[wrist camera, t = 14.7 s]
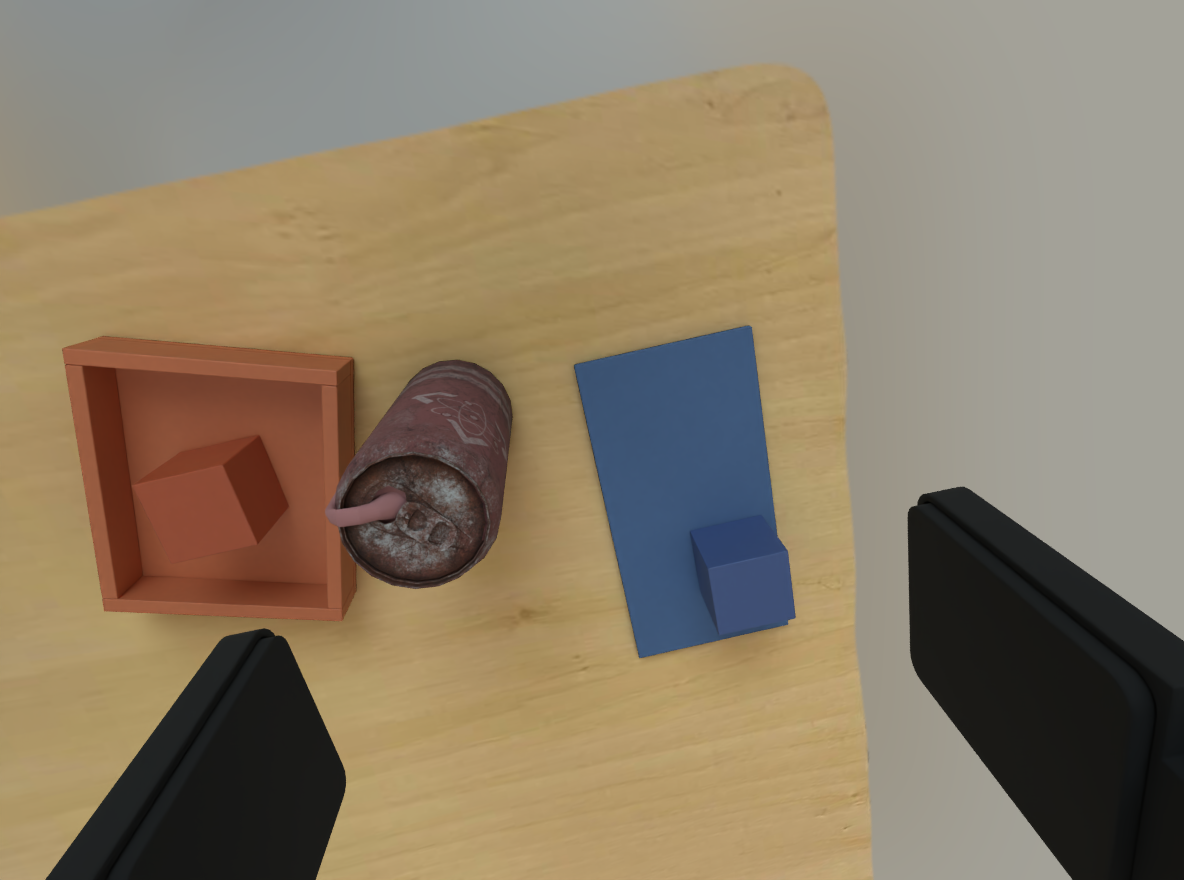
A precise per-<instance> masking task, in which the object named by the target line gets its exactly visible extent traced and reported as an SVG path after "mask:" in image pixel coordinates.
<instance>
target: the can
mask: <svg viewBox="0 0 1184 880" xmlns="http://www.w3.org/2000/svg"><path fill="white" fill-rule="evenodd" d="M511 426H512V409H511V401H510V399H509V396H508V394H507V392H506V390H505V388H504V386H503V385H502V383H501V382H500V381H499V380H498V379H497V378H496V377H495V376H494V375H493V374H492V373H491V372H489V371H488V370H486V369H484V368H482V367H480V366H479V365H477V364H475V363H470V362H465V361H461V360H449V361H439V362H437V363H435V364H432V365H430V366H428V367H425V368H423V369H422V370H421V371H420V372H419V373H418V374H416V375H415V376H414V377H413V378H412V379H411V380H410V381H409V383H408V384H407V385H406V387H405V388H404V389H403V391H402V392H401V393H400V395H399V396H398V398H397V399H396V400H395V402H394V403H393V404H392V406H391V407H390V409H389V410H388V411H387V413H386V414H385V415H384V417H383V418H382V419H381V421H380V422H379V424H378V425H377V426H376V428H375V429H374V430H373V432H372V433H371V435H370V436H369V437H368V439H367V440H366V441H365V443H364V444H363V445H362V447H361V448H360V450H359V451H358V452H357V454H356V455H355V456H354V458H353V459H352V460H351V462H350V463H349V465H348V466H347V468H346V470H345V472H344V474H343V476H342V478H341V479H340V481H339V483H338V485H337V488H336V492H335V494H334V496H333V497H332V499H331V501H330V503H329V504H328V506H327V507H326V509H325V514H326V516H327V518H328V520H329V522H330V523H332V524H334V525H336V526H338V530H339V534H340V537H341V541H342V544H343V545H344V547H345V548H346V550H347V551H348V553H349V554H350V556H351V558H352V559H353V561H354V562H355V563H357V564H358V565H359V566H360V567H361V568H363V569H364V570H365V571H366V572H367V573H369V574H370V575H371V576H373V577H375V578H377V579H379V580H382V581H384V582H386V583H388V584H391V585H394V586H400V587H407V588H413V589H419V588H428V587H436V586H440V585H443V584H445V583H447V582H450V581H452V580H455V579H457V578H459V577H460V576H462V575H463V574H464V573H466V572H467V571H469V570H470V569H471V568H472V567H473V566H475V565H476V564H477V563H478V562H479V561H481V560H482V559H483V558H484V557H485V556H486V554H487V553H488V551H489V549H490V548H491V546H492V545H493V543H494V541H495V540H496V538H497V534H498V529H499V524H500V519H501V514H502V505H503V496H504V487H505V479H506V470H507V461H508V452H509V443H510V435H511Z"/></svg>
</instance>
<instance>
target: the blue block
mask: <svg viewBox="0 0 1184 880" xmlns="http://www.w3.org/2000/svg"><path fill="white" fill-rule="evenodd" d="M690 535H691V541H692V547H693V553H694V558H695V564H696V570H697V575H698V581H699V587H700V592H701V594H702V597H703V599H704V601H705V604H706V606H707V608H708V611H709V613H710V616H711V618H712V620H713V623H714V625H715V627H716V630H717V632H718V634H719V635H724V634H728V633H732V632H737V631H741V630H746V629H750V628H755V627H759V626H763V625H768V624H772V623H777V622H781V621H785V620H790V619H794V618H796V616H795V608H794V599H793V591H792V582H791V574H790V565H789V557H788V551H787V549H786V548H785V546H784V545H783V544H782V542H781V541H780V540H779V538H778V537H777V536H776V534H775V533H774V531H773V530H772V529H771V527H770V526H769V525H768V523H767V522H766V520H765V519H764V518H763V516H762V515H757V516H753V517H749V518H744V519H740V520H735V521H731V522H726V523H722V524H718V525H713V526H709V527H704V528H700V529H695V530H691V531H690Z"/></svg>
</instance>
